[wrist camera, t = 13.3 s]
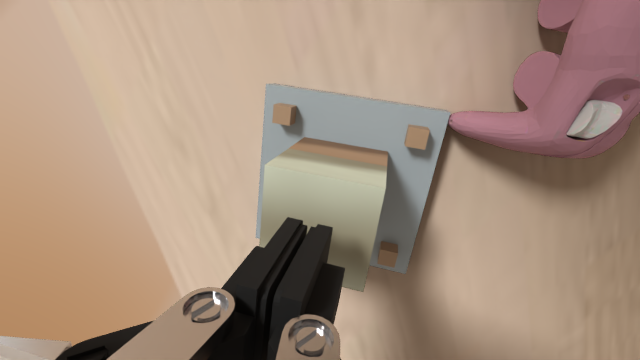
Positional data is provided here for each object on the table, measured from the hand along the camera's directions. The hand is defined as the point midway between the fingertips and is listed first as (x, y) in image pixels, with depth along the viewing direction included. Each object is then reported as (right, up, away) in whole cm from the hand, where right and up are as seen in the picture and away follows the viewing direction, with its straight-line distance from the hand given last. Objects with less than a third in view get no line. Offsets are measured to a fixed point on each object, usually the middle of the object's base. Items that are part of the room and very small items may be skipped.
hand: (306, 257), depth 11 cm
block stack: (+2, +3, +7) cm, 8 cm away
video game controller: (+11, +10, +4) cm, 15 cm away
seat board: (+2, +3, +8) cm, 9 cm away
